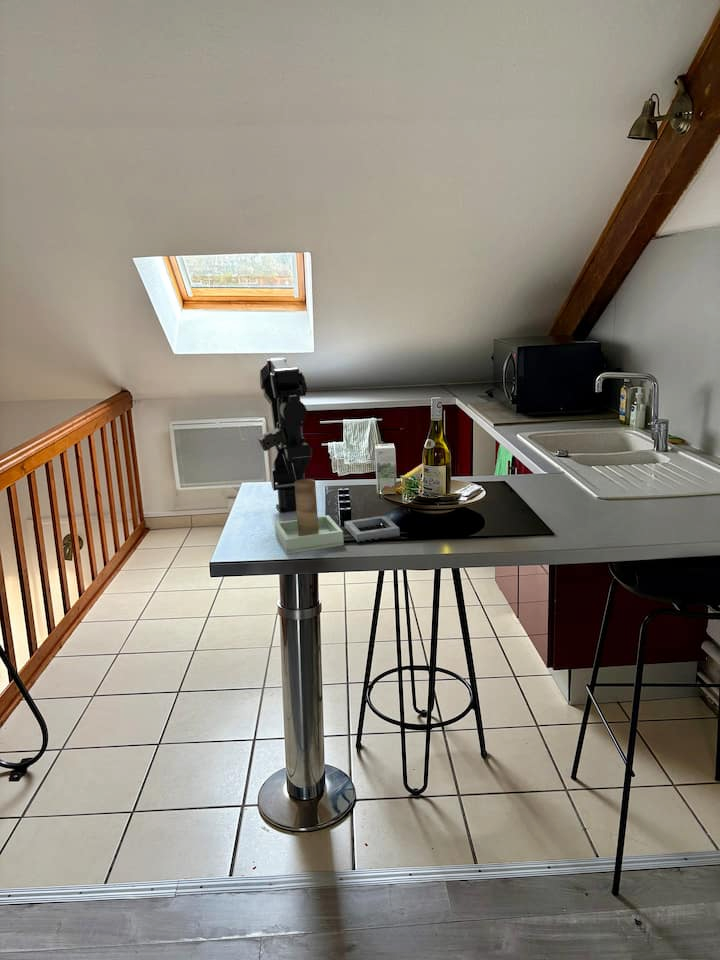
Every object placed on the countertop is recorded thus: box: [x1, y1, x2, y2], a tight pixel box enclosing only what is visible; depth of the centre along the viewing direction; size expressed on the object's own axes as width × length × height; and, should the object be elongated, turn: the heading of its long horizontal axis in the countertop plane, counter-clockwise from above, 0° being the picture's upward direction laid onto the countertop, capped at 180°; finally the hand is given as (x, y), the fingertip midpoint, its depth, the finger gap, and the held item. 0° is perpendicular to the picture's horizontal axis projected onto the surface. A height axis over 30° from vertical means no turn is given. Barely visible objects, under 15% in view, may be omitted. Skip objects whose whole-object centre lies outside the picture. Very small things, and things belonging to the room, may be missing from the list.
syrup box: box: [374, 443, 397, 496], centre depth 219 cm, size 6×6×14 cm
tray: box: [274, 514, 345, 555], centre depth 183 cm, size 14×14×4 cm
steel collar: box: [343, 515, 401, 543], centre depth 186 cm, size 11×11×2 cm
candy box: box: [401, 463, 422, 494], centre depth 214 cm, size 16×2×8 cm, turn 155°
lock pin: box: [295, 478, 319, 536], centre depth 181 cm, size 5×5×14 cm
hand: (294, 478), depth 191 cm, fingers open, 9 cm apart
